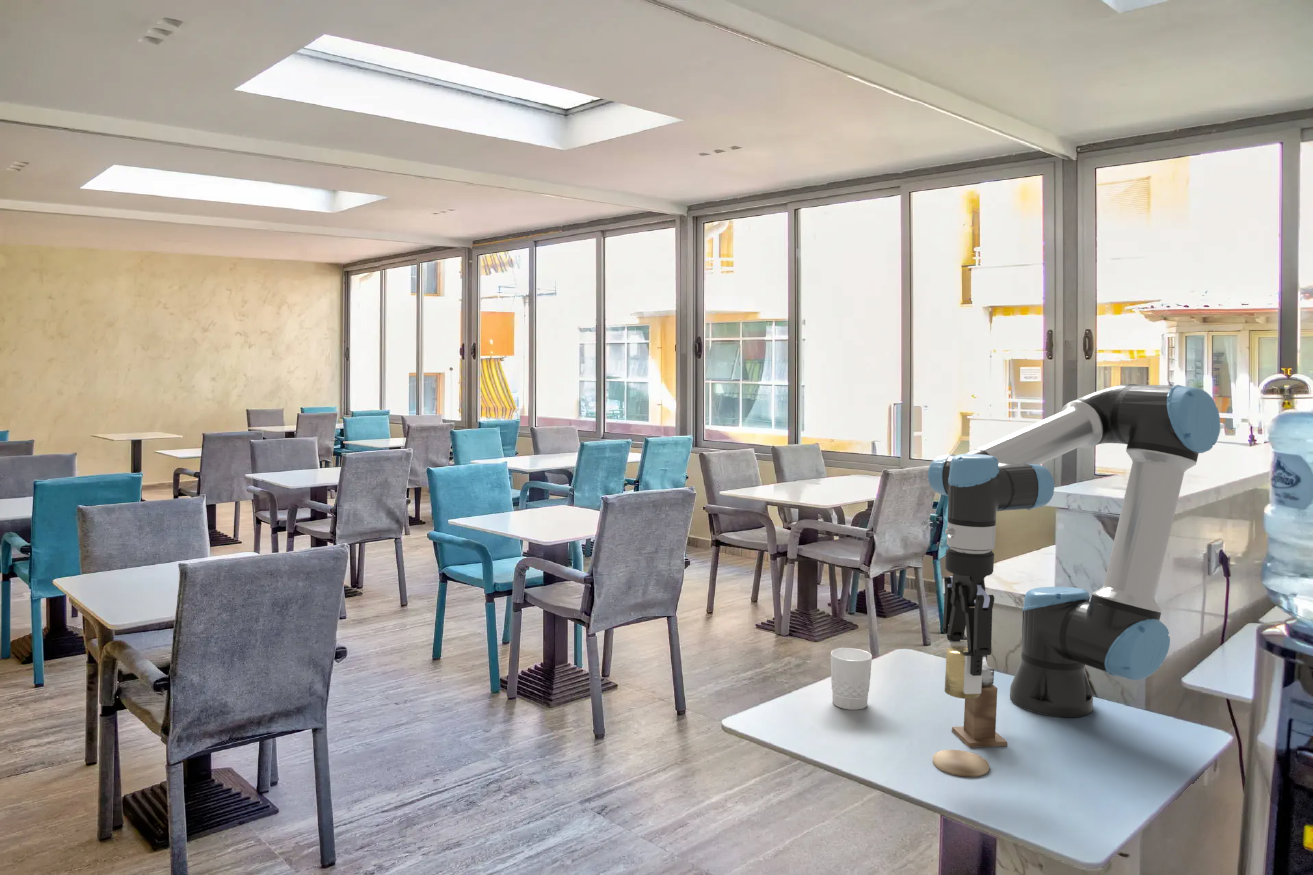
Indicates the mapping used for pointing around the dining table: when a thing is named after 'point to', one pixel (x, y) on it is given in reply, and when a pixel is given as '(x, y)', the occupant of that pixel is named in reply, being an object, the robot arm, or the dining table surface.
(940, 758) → the coaster
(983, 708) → the post
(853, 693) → the white cup
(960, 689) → the brass cylinder
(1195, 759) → the dining table surface
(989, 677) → the lever
